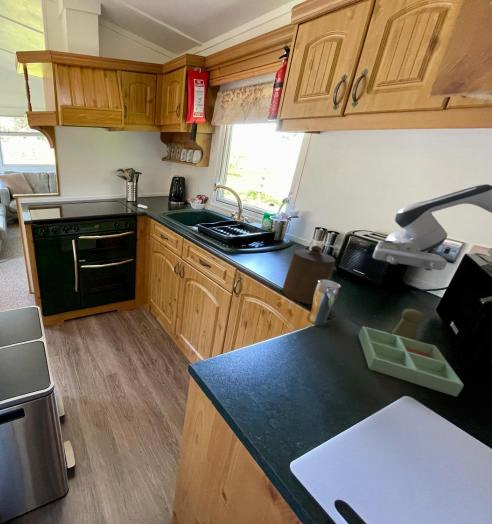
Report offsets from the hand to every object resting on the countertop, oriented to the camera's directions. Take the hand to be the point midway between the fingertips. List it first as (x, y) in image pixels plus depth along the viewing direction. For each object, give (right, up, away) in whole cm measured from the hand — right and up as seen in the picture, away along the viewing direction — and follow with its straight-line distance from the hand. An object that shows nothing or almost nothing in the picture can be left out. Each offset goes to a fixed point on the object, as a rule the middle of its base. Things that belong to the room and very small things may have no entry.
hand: (411, 265), depth 100 cm
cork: (-8, -25, -5) cm, 27 cm away
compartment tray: (-18, -28, -16) cm, 37 cm away
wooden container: (-27, -13, +21) cm, 37 cm away
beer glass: (-32, -20, +2) cm, 38 cm away
